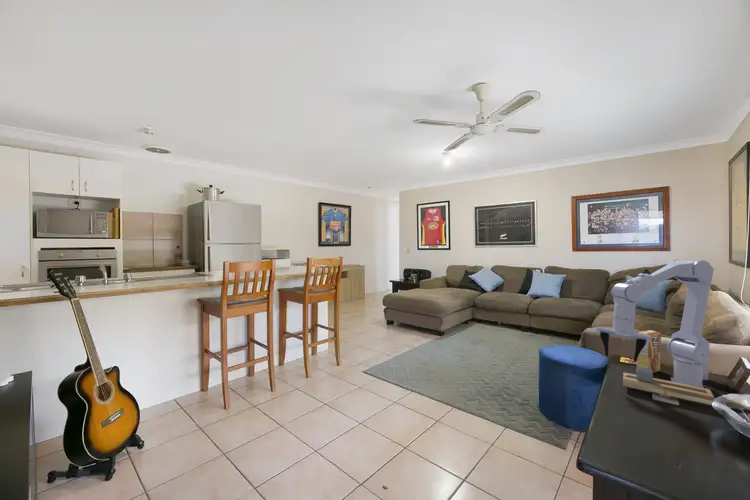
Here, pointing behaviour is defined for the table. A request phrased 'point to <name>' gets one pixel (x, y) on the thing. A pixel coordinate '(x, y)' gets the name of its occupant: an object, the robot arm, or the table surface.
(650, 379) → the block
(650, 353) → the candy box
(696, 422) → the table surface
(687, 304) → the robot arm
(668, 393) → the tan slotted track
